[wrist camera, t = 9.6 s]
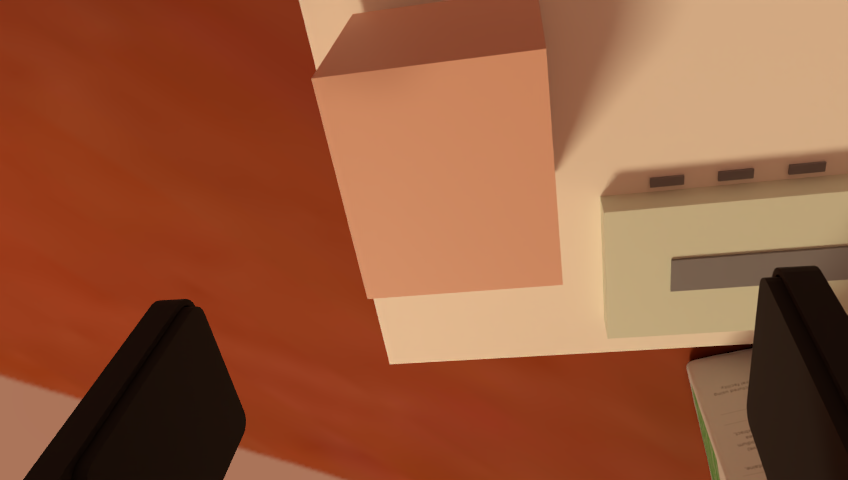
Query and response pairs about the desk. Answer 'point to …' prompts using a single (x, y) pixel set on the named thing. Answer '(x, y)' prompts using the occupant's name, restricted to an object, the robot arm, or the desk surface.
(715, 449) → the skincare box
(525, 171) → the stub
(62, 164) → the desk surface
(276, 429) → the desk surface
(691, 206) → the ticket board
